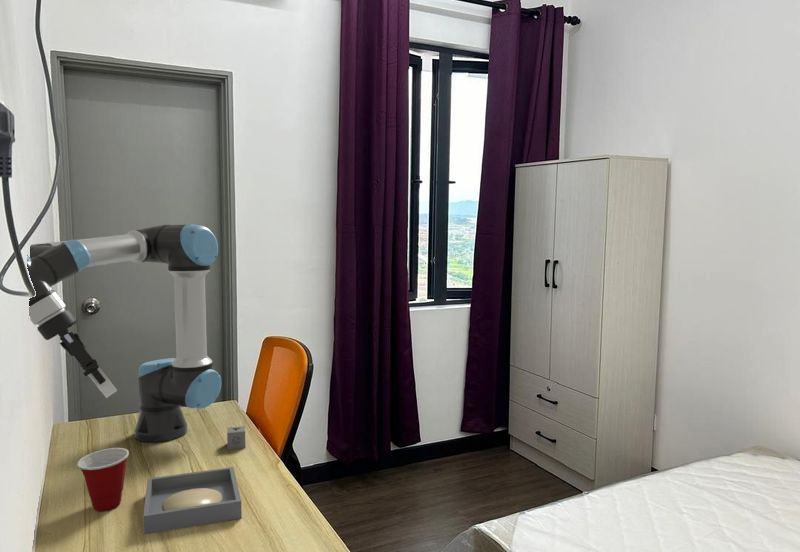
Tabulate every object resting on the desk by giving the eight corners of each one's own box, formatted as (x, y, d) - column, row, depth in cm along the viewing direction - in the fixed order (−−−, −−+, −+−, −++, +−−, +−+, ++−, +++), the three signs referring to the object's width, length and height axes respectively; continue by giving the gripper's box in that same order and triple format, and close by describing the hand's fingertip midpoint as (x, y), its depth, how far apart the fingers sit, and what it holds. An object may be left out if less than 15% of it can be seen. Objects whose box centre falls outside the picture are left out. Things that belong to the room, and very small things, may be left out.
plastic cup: (74, 504, 142) (72, 454, 141) (124, 491, 148) (121, 443, 147) (85, 522, 133) (82, 469, 132) (137, 507, 140) (135, 457, 139)
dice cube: (245, 442, 182) (244, 425, 181) (245, 448, 177) (245, 431, 176) (227, 443, 180) (227, 427, 180) (227, 449, 176) (227, 433, 175)
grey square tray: (148, 494, 147) (147, 478, 146) (233, 482, 154) (233, 466, 153) (144, 534, 128) (143, 516, 128) (241, 518, 135) (241, 500, 135)
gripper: (36, 327, 146) (91, 396, 151) (34, 326, 125) (98, 407, 129) (66, 309, 150) (118, 377, 154) (69, 306, 128) (129, 385, 133)
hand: (109, 391), depth 142 cm, fingers open, 13 cm apart
